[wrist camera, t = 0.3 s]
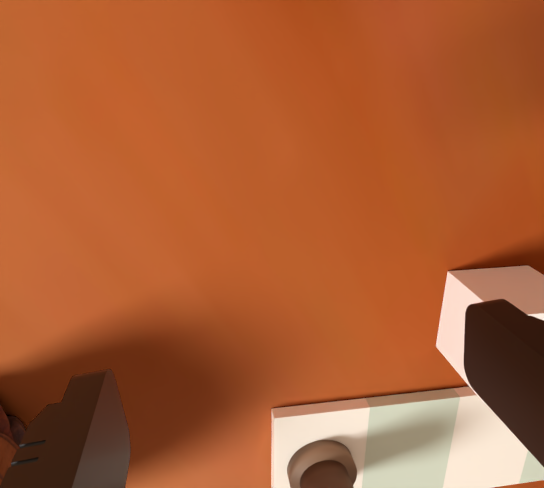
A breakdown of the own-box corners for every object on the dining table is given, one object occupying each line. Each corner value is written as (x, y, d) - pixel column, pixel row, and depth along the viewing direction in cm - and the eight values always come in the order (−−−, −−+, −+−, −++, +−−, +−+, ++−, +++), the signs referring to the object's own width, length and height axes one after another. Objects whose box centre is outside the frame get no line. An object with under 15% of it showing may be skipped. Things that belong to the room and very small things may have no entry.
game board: (271, 408, 34) (274, 418, 33) (614, 370, 38) (625, 378, 37) (271, 508, 38) (273, 519, 37) (583, 463, 42) (592, 472, 41)
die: (447, 270, 32) (503, 318, 26) (528, 265, 33) (598, 309, 27) (435, 346, 34) (484, 404, 28) (511, 338, 35) (573, 393, 29)
